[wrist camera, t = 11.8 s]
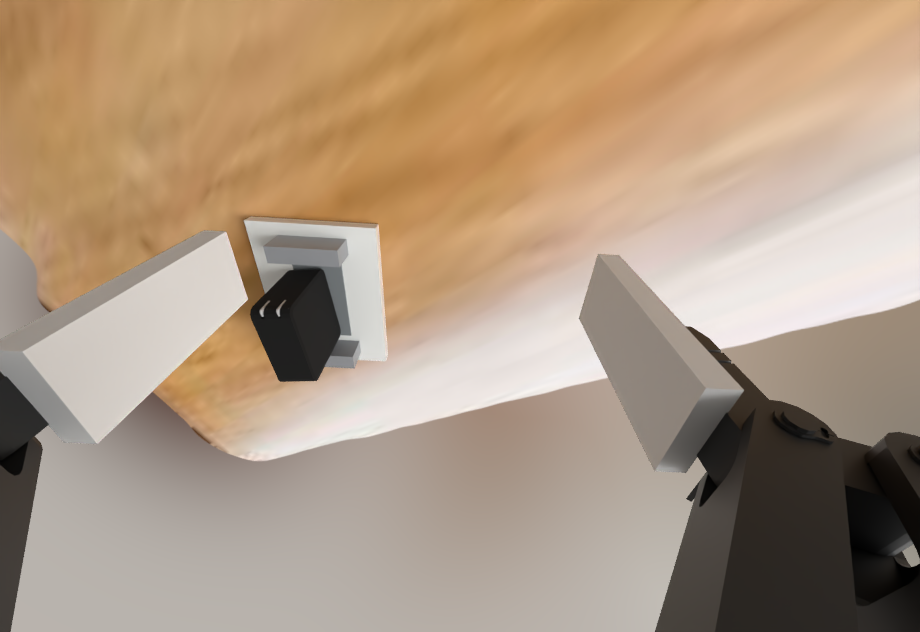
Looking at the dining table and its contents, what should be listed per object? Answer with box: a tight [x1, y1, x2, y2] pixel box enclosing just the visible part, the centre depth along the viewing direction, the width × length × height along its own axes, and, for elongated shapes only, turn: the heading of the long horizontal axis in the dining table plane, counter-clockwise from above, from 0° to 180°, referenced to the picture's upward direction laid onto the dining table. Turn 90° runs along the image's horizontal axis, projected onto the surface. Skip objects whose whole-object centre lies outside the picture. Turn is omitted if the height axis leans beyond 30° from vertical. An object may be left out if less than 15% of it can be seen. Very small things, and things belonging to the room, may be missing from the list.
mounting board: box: [244, 216, 388, 368], centre depth 44 cm, size 20×15×5 cm
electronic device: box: [250, 269, 341, 382], centre depth 41 cm, size 4×10×10 cm, turn 2°
